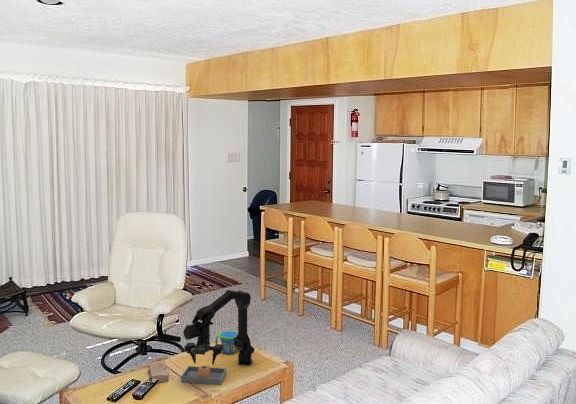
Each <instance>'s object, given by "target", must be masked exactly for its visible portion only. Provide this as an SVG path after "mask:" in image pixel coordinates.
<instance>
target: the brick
mask: <svg viewBox="0 0 576 404" xmlns="http://www.w3.org/2000/svg"><path fill="white" fill-rule="evenodd" d="M166 364H167V363H166V361H165V360H159V361H153V362H149V363H148V375H149V377H150V379H151V378H152V379H157V380H159V383H158V384H162V383H164V384H165V383H168V382H169V380H170V379H169V376H170V375H169V371H168V369H167V365H166Z"/></svg>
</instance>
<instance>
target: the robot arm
mask: <svg viewBox="0 0 576 404" xmlns="http://www.w3.org/2000/svg"><path fill="white" fill-rule="evenodd" d="M251 299H252V297H251V294H250V293H248V292H245V291H244V290H238V291H236V290H233V289H232V290H231V289H227V290H226V291H225V292H224V293H223V294H222V295H220V296H219V297H218V298H217V299H215V300H214V301H212V303H210V304H208V305H205V306H202V307H201V308H199V309H198V310H197V311H196V313H195V316H194V317H193V319H192V321H191V324H186V325H185V328H184V329H183V332H182V333H183V336H184V339H185V340H188V342H187V343H186V344H185V346H184V350H183V351H184V352H185V353H187V354H188V355H190V357H191V359H192V362H193V365H196V363H197V355H206V353H207V352H210V351H212V352H213V353H212V360H211V365H212V366H214V365H215V362H216V358H217V356H219V355H220V354H222V353H223V345H222V344H221V343H219V344H216V343H215V344H214V345H211V341H210V340H211V332H210V331H211V330H210V329H211V327H210V326H211V325H214V322H213V321H212V320H213V318H214V317H215V315H216V314H217V312H218V311H220V310H221V309H222V308H224V306H226V305H227V304H228V303H230V302H231V301H232V300H234V302H235V305H236V307H237V325H238V326H237V333H238V335H237V337H234V345H235V347H236V351H238V352H239V353H238V356H237V357H238V358H237V359H238V361H237V362H238V365H241V366H242V365H243V366H251V365H252V363H253V356H252V355H253V354H254V352H255V348H254V347H253V345H252V344H251V339H250V336H249V333H248V309H249V306H250V305H251ZM195 338H197V341H196V343H195V342H190V341H189V340H191V339H195Z"/></svg>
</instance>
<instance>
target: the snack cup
mask: <svg viewBox="0 0 576 404" xmlns="http://www.w3.org/2000/svg"><path fill="white" fill-rule="evenodd" d="M237 335H238V331H232V330H228V331H222V332H221V333H219V334H218V335H217V336H216V337H215V344H218V343H219V342H218V337H219V339H220V344H222V345H223V351H222V353H224V354H234V353H235V352H236V351H237V348H236V347H235V345H234V337H237Z"/></svg>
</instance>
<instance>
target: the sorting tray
mask: <svg viewBox="0 0 576 404" xmlns="http://www.w3.org/2000/svg"><path fill="white" fill-rule="evenodd" d="M199 367H200V366H195V365H194V366H193V365H188V366H187V367H186V369H185V370H184V372H183V373H182V375H181V376H180V382H181V383H186V384H187V383H189V384H201V385H202V384H203V385H218V386H221V385H223V384H222V383H223V382H224V380H225V378H226V376H227V367H226V368H225V367H224V368H223V367H211V366H210V377H209V378H206V377H198V369H199Z"/></svg>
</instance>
